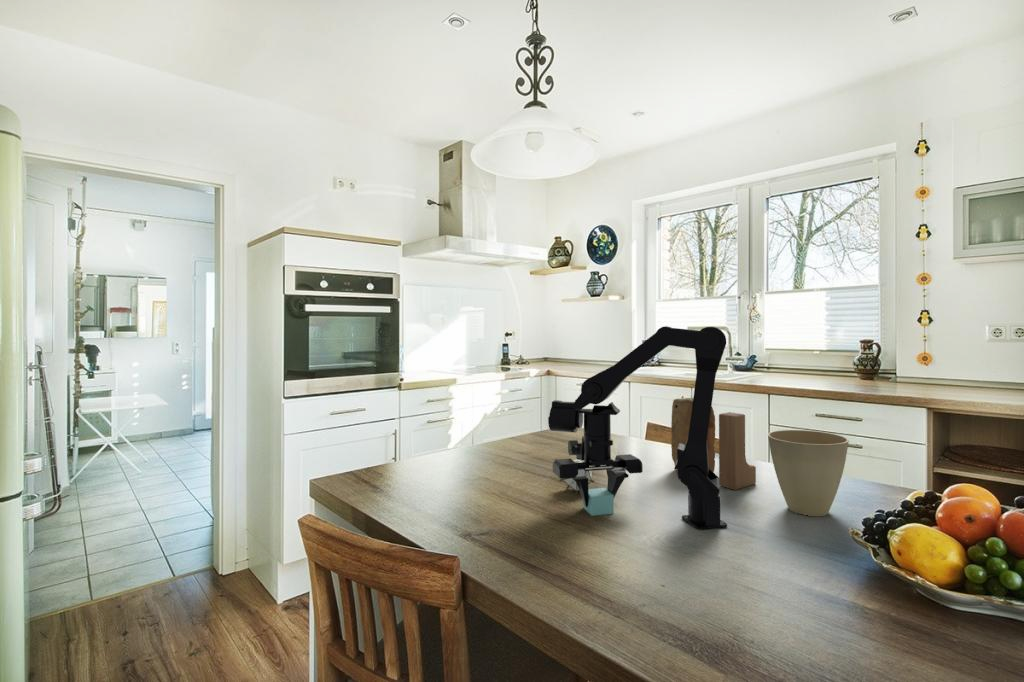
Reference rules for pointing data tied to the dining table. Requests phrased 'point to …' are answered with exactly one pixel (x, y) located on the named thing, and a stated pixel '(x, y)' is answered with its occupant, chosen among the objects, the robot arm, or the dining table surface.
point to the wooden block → (733, 453)
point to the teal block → (600, 502)
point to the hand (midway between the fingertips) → (597, 505)
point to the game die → (572, 483)
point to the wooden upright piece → (682, 425)
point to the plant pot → (808, 468)
